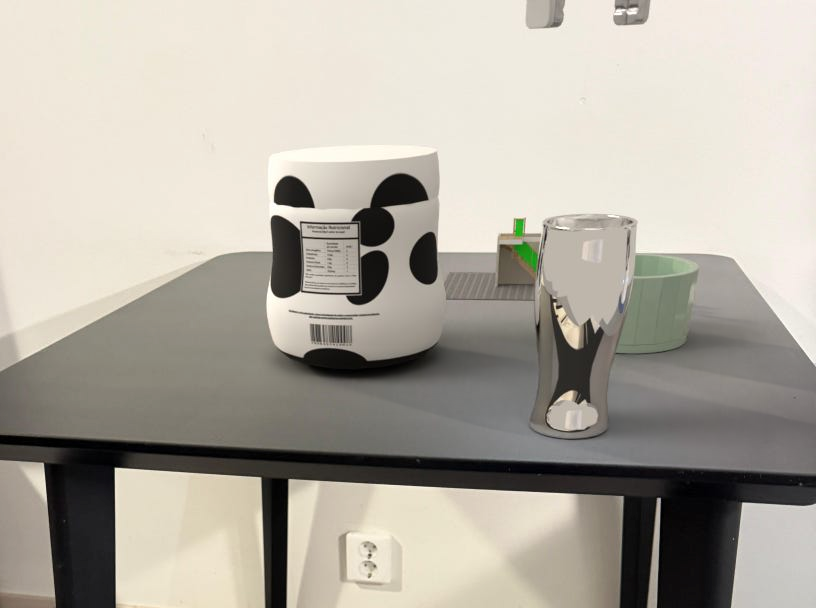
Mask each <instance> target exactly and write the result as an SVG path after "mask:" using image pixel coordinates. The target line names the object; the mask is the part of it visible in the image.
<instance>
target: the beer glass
mask: <svg viewBox="0 0 816 608" xmlns="http://www.w3.org/2000/svg"><path fill="white" fill-rule="evenodd" d="M638 223H639V221H638V220H637V219H636V218H634V217H631V216H626V215H619V214H609V213H608V214H607V213H576V214H575V213H573V214H572V213H571V214H562V215H561V214H560V215H555V216H549V217H547V218H545V219H543V221H542V226H541V232H540V233H541V239H540V245H539V252H538V259H537V266H536V275H535V288H534V300H533V313H534V315H533V317H534V330H535V340H536V350H537V362H538V363H537V364H538V383H537V390H536V391H537V392H536V397H535V401H534V405H533V408H532V412H531V415H530V418H529V426H530V428H531V429H532V430H533V431H535V432H536V433H538V434H541V435H544V436H547V437H551V438H556V439H566V440H567V439H568V440H570V439H571V440H573V439H574V440H576V439H578V440H580V439H589V438H593V437H597V436H599V435H601V434H603V433H605V432H606V431H607V430H608V427H609V408H608V407H609V406H608V388H609V380H610V374H611V369H612V367H613V363H614V360H615V356H616V354H617V353H616V350H617V346H618V343H619V340H620V337H621V333H622V330H623V327H624V323H625V319H626V315H627V311H628V307H629V303H630V298H631V292H632V286H633V277H634V268H635V253H636V252H637V251H636V249H637V232H638V231H637V229H638Z"/></svg>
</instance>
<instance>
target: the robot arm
mask: <svg viewBox="0 0 816 608" xmlns="http://www.w3.org/2000/svg"><path fill="white" fill-rule="evenodd" d="M565 5H566V0H526V3H525V26H526V27H527V28H528V29H529V30H530V29H531V30H536V29H539V30H540V29H554V28H555V29H556V28H559V27H560V26H562V24H563V22H564V18H565V17H564V16H565V12H564V8H565ZM650 7H651V0H614V12H613V16H612V20H613V23H614V25H616V26H640V25H644V24H645V23H646V22H647V21H648V19H649V15H650V9H651V8H650Z"/></svg>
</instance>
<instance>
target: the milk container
mask: <svg viewBox="0 0 816 608" xmlns="http://www.w3.org/2000/svg"><path fill="white" fill-rule="evenodd" d="M438 154H439V153H438V151H437V148H434V147H429V146H421V145H411V144H409V145H408V144H352V145H334V146H333V145H332V146H319V147H307V148H299V149H292V150H284V151H280V152H277V153H271V155H270V156H269V158H268V165H267V171H268V172H267V193H268V199H269V206H268V213H269V224H270V234H271V235H270V236H271V246H272V263H271V271H270V276H269V283H268V288H267V294H266V316H267V321H268V328H269V331H270V336H271V339H272V342H273V343H274V345H275V347H276V348H277V350H278V351H279V352H280V353H281V354H283V355H284V356H286V357H287V358H288V359H290V360H293V361H296V362H298V363H301V364H304V365H308V366H314V367H320V368H321V367H322V368H327V369H336V370H339V369H340V370H341V369H344V370H345V369H347V370H361V369H362V370H363V369H377V368H384V367H388V366H394V365H399V364H404V363H407V362H410V361H412V360H415V359H418V358H421V357H423V356H424V355H426V354H427V353H429V351H431V350H432V349H434V347H435V346H437V344H438V343H439V341H440V339H441V336H442V335H443V330H444V326H445V320H446V313H447V299H446V293H445V287H444V283H445V281H444V278H443V274H442V269H441V265H440V259H439V248H438V244H439V241H438V239H439V237H438V236H439V220H440V200H439V194H440V187H441V185H440V181H441V179H440V178H441V177H440V176H441V175H440V163H439V162H440V161H439V155H438Z"/></svg>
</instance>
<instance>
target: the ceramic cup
mask: <svg viewBox="0 0 816 608" xmlns="http://www.w3.org/2000/svg"><path fill="white" fill-rule="evenodd" d="M699 271H700V268H699V264H698V263H696V262H695V261H692V260H691V259H687V258H683V257H679V256H672V255H665V254H657V253H640V252H639V253H635V268H634V277H633V286H632V292H631V298H630V303H629V307H628V311H627V315H626V319H625V323H624V327H623V330H622V333H621V337H620V340H619V343H618V346H617V350H616V353H615V354H629V355H630V354H637V355H638V354H653V353H662V352H668V351H670V350H675V349H677V348H679V347H682V346H683V345H684V344H685V343H686V342H687V338H688V334H689V330H690V324H691V319H692V311H693V305H694V300H695V295H696V289H697V288H696V287H697V284H698V283H697V282H698V276H699Z"/></svg>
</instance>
